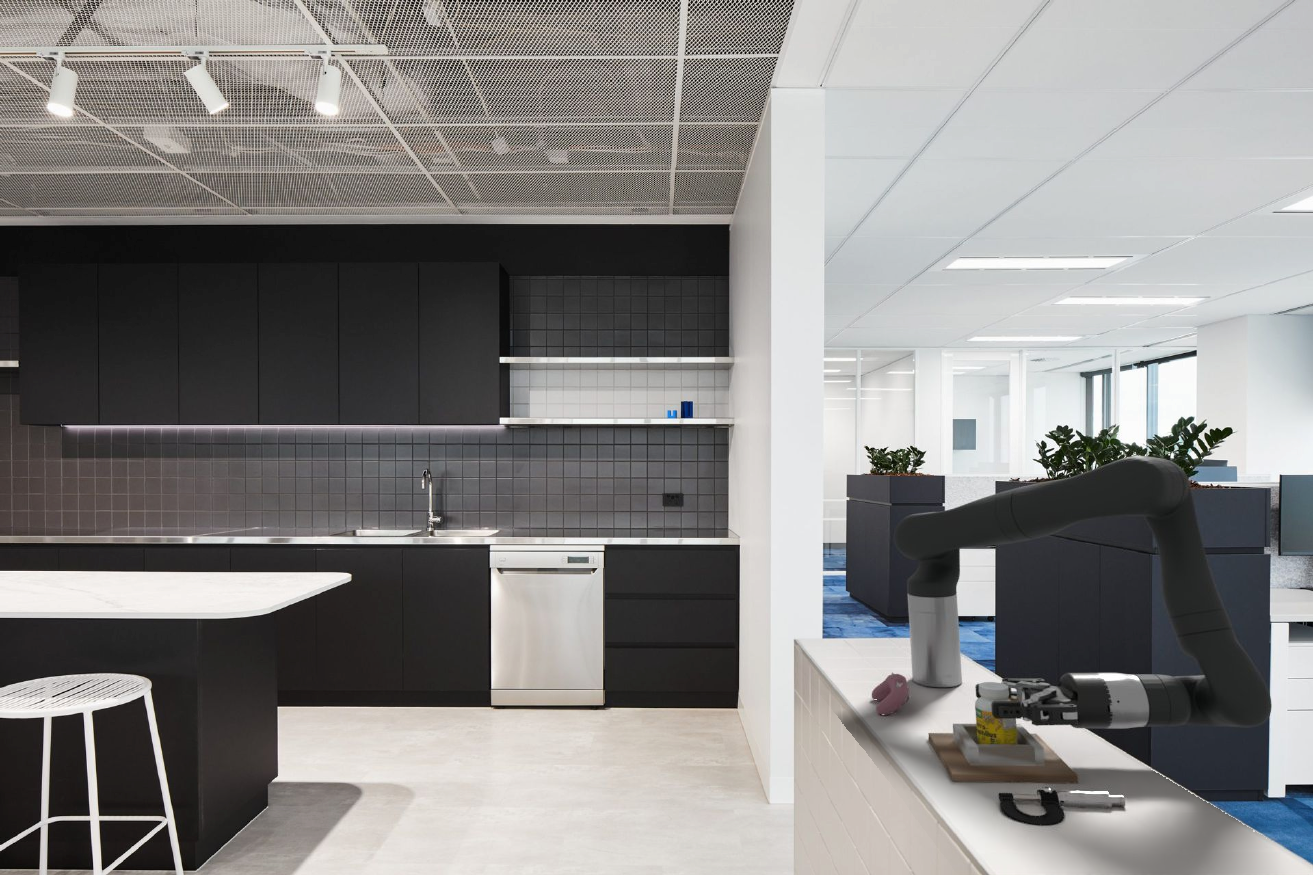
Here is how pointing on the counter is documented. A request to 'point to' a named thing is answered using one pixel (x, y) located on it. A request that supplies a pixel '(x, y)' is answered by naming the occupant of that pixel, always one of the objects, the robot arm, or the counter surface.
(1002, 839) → the counter surface
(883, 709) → the video game controller
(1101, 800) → the micrometer
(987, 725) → the supplement bottle
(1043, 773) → the socket board
